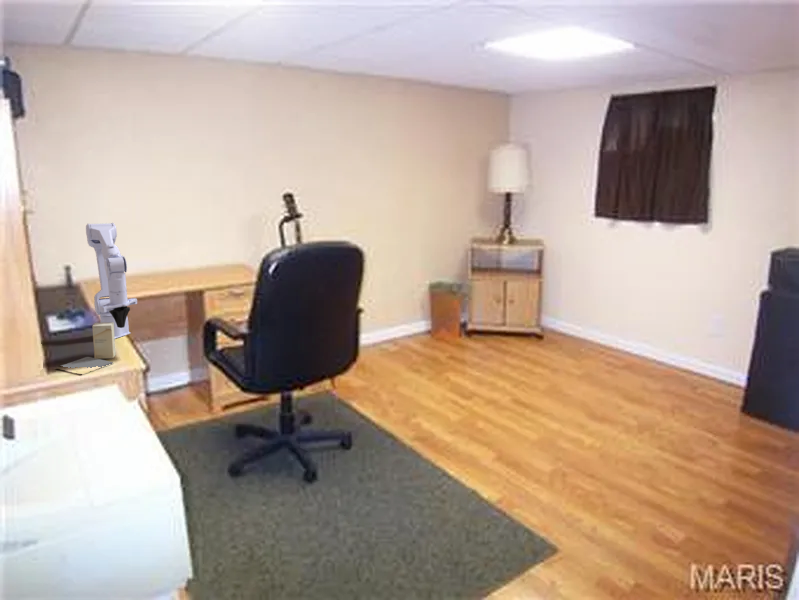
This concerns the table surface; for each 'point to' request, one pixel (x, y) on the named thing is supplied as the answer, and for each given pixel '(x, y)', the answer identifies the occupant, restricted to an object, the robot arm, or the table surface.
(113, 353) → the skincare box
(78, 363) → the mat
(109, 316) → the robot arm
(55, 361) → the table surface
